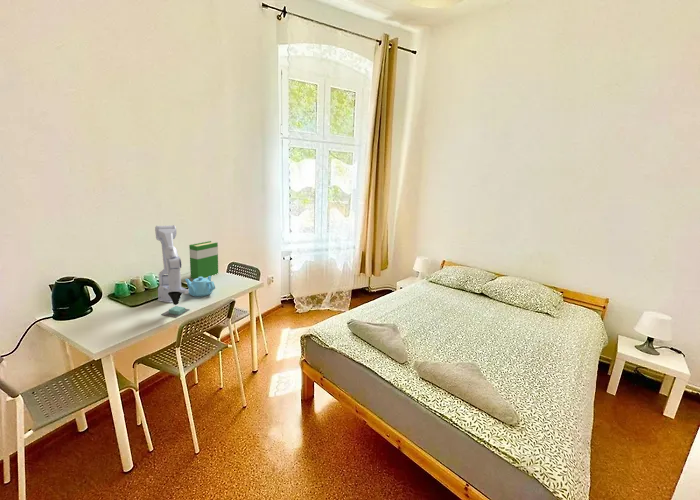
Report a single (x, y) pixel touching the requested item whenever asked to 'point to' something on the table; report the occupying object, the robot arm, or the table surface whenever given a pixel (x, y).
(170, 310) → the teal tile
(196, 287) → the teapot
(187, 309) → the charcoal mat
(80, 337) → the table surface
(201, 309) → the table surface
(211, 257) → the hardback book
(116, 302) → the table surface
